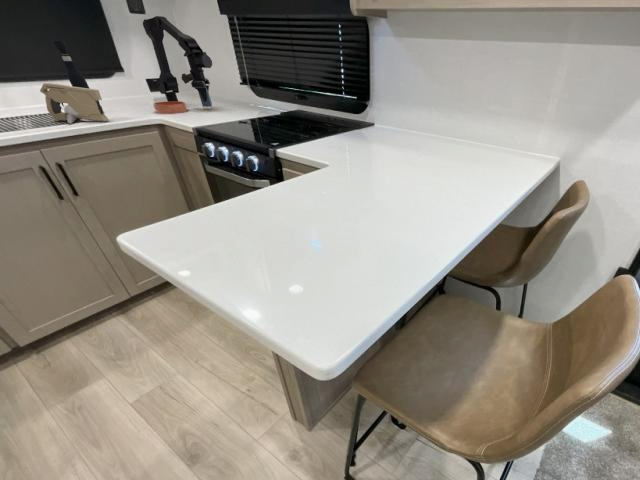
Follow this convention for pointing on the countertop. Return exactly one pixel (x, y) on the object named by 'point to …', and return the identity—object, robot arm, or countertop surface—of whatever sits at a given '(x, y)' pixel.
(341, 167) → the countertop surface
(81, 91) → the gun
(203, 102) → the block
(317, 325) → the countertop surface
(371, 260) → the countertop surface
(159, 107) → the bowl
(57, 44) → the wine bottle
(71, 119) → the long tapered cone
